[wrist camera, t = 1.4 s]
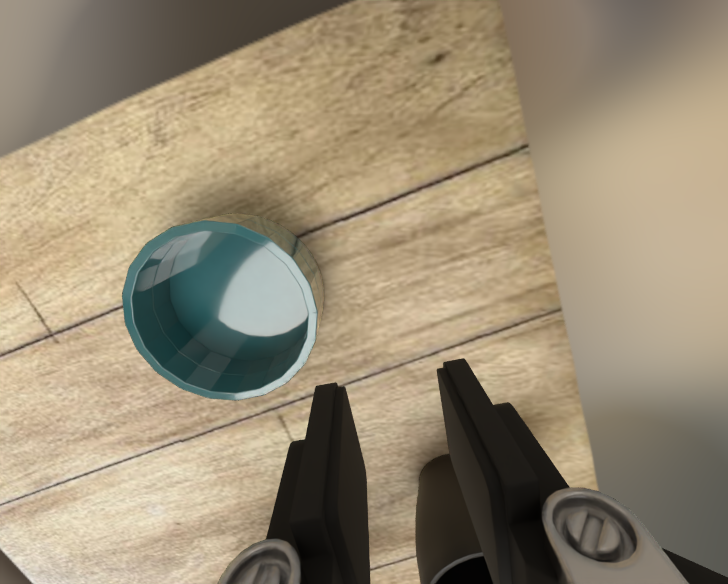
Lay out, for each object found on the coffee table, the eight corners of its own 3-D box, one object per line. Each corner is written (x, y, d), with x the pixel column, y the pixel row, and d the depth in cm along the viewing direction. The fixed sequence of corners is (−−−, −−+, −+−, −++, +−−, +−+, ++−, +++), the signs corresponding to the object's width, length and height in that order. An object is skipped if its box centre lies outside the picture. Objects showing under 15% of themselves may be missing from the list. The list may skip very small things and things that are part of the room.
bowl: (160, 204, 24) (112, 210, 19) (329, 222, 25) (323, 232, 20) (170, 356, 28) (131, 392, 23) (318, 368, 28) (311, 406, 23)
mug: (544, 484, 32) (618, 603, 23) (421, 523, 33) (446, 651, 24) (523, 414, 30) (596, 516, 21) (391, 459, 31) (406, 574, 22)
